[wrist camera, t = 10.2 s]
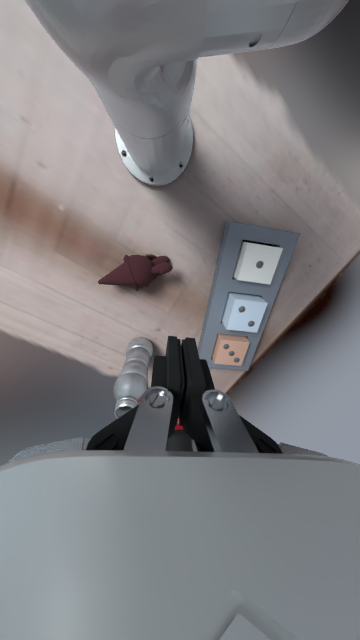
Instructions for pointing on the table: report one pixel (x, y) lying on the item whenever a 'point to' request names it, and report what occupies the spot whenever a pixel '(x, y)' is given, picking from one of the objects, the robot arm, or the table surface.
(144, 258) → the icecream
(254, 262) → the tile one
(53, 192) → the table surface
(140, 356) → the plastic bottle
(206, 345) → the panel
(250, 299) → the tile two
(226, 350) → the tile three
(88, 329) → the table surface
